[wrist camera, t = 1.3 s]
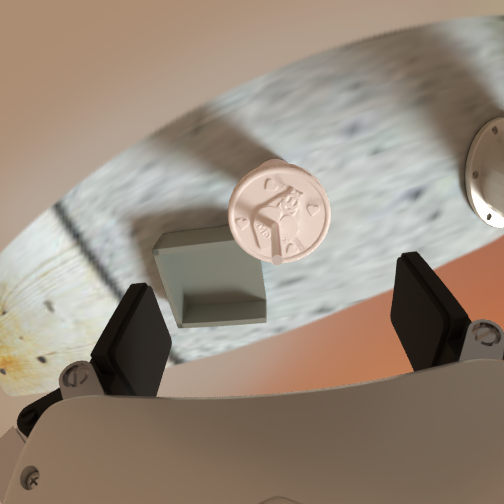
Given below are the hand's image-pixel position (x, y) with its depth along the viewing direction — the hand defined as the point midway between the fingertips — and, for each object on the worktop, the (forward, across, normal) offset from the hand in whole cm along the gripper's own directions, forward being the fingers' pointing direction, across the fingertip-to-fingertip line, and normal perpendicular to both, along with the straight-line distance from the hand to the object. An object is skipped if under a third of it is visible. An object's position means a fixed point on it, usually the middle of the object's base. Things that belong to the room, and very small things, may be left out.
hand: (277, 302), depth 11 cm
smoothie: (+18, -1, 0) cm, 18 cm away
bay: (+18, +6, +8) cm, 21 cm away
